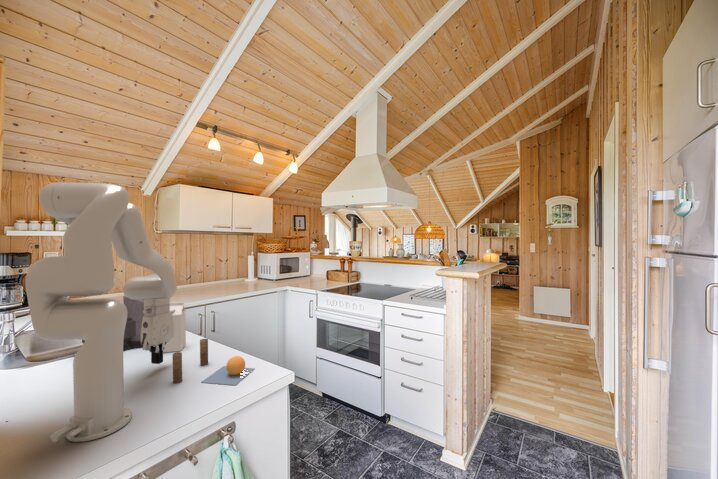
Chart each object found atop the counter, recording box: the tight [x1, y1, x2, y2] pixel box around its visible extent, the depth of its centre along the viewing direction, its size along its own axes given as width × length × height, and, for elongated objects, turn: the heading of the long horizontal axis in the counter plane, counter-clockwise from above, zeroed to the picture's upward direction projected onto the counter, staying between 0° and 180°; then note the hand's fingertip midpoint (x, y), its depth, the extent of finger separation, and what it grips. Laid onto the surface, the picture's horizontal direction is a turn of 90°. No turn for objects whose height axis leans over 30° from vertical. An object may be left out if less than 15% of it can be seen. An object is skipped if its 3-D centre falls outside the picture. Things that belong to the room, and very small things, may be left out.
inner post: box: [172, 351, 183, 384], centre depth 100 cm, size 3×3×9 cm
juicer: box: [81, 295, 144, 353], centre depth 131 cm, size 30×16×24 cm, turn 144°
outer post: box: [199, 338, 209, 367], centre depth 113 cm, size 3×3×9 cm
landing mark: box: [201, 365, 256, 386], centre depth 104 cm, size 12×12×1 cm
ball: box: [225, 355, 246, 375], centre depth 105 cm, size 6×6×6 cm
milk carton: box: [163, 302, 187, 354], centre depth 127 cm, size 7×7×19 cm
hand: (157, 362), depth 107 cm, fingers closed
